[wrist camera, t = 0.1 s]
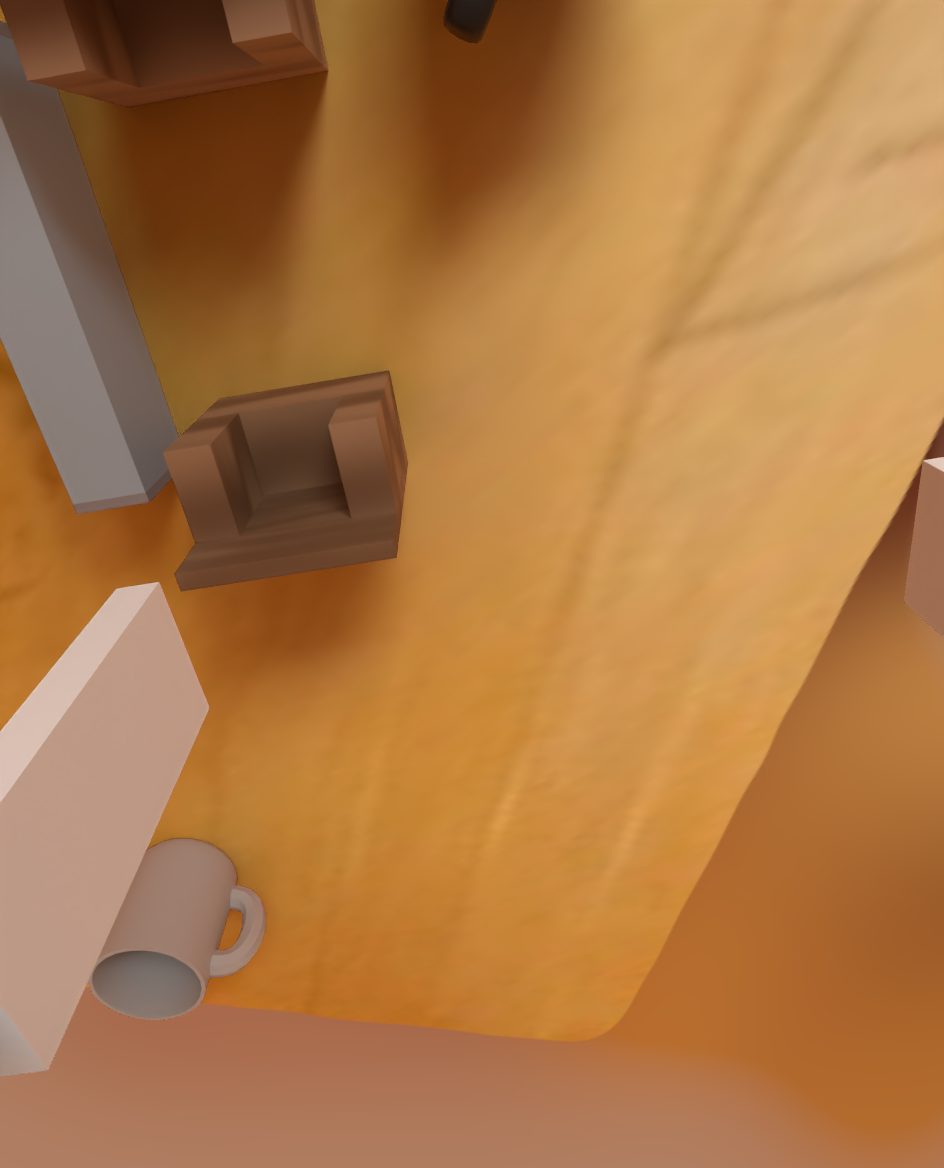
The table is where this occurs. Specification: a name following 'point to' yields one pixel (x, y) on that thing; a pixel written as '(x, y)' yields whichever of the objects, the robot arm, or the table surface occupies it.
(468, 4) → the mug
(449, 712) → the table surface
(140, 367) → the rail
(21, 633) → the table surface
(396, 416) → the post foot
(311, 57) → the post head
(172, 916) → the cup
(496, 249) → the table surface
